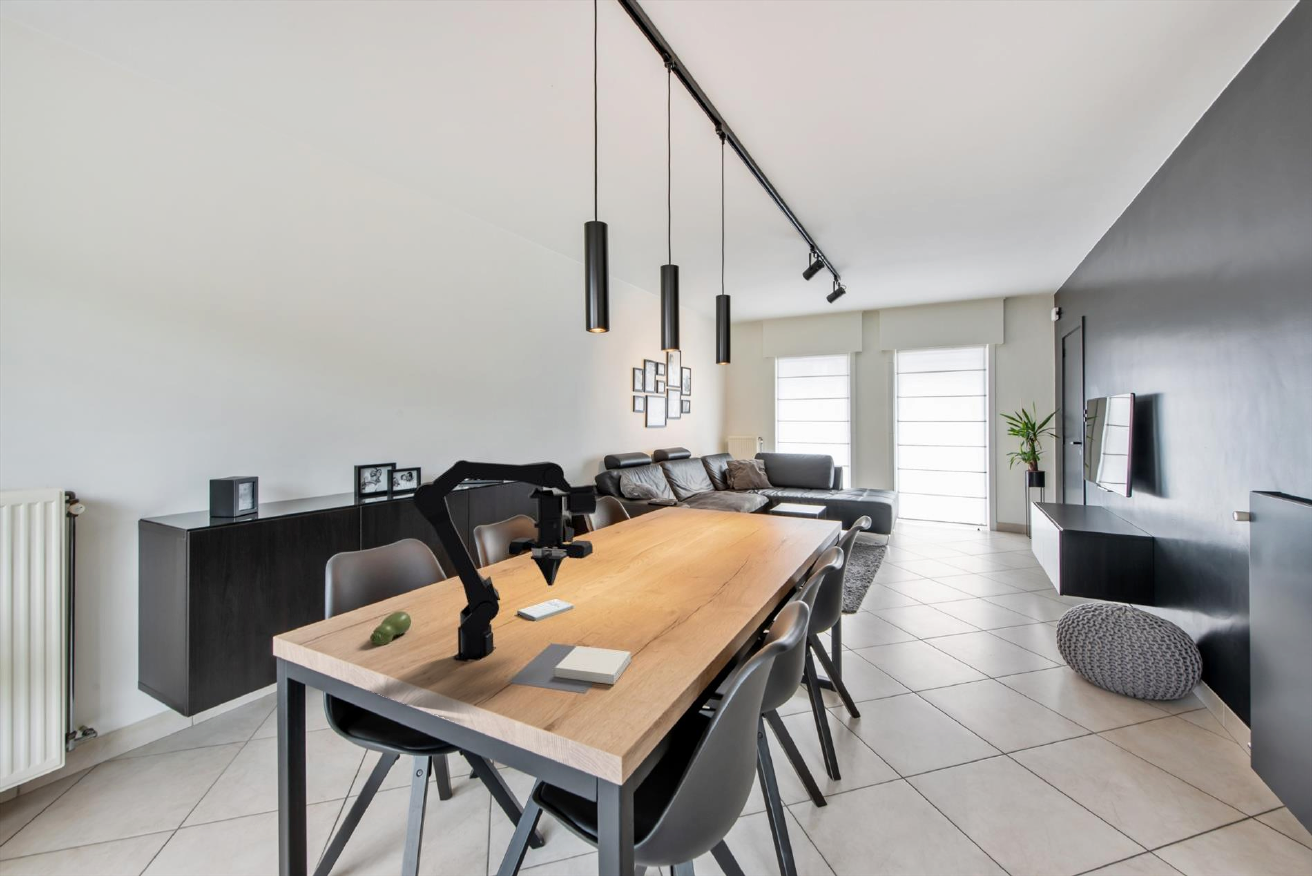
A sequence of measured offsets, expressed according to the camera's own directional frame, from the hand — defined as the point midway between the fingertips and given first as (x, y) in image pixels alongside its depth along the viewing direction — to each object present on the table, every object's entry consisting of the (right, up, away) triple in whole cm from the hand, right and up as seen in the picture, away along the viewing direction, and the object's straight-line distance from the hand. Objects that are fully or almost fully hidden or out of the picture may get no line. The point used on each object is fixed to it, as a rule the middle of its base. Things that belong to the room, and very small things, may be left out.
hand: (550, 585), depth 113 cm
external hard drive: (-6, -14, +20) cm, 25 cm away
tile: (+6, -11, -13) cm, 18 cm away
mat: (+6, -13, -13) cm, 19 cm away
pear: (-38, -14, +4) cm, 41 cm away
